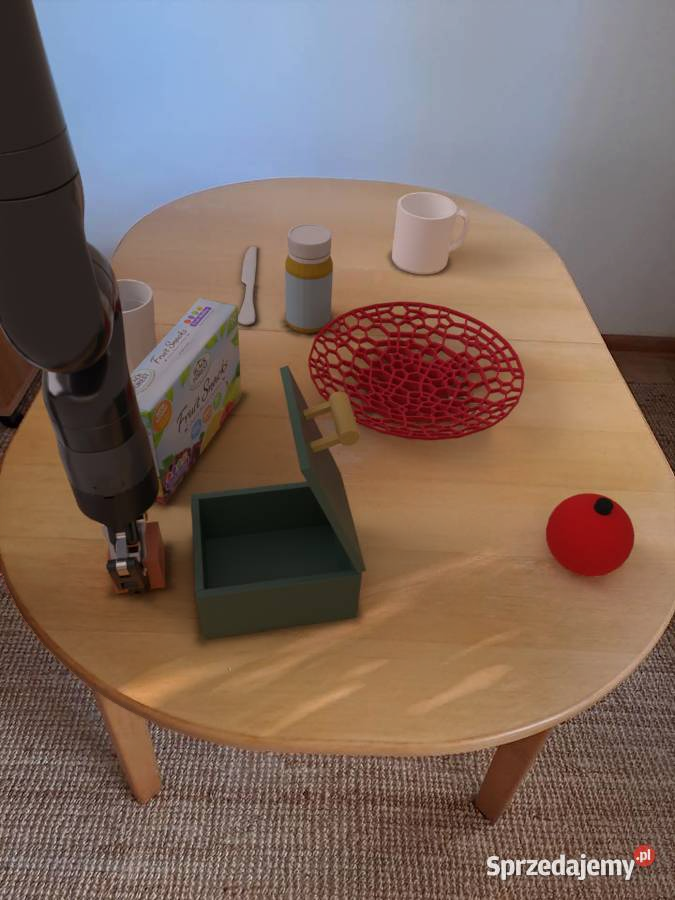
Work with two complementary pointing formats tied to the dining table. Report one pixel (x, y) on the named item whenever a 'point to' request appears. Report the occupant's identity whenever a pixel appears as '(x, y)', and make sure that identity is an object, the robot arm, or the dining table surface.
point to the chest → (268, 561)
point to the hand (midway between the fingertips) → (140, 568)
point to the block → (151, 557)
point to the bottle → (308, 278)
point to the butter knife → (248, 287)
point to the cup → (137, 320)
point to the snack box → (189, 388)
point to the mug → (425, 232)
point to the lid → (325, 458)
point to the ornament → (590, 534)
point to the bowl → (417, 373)
